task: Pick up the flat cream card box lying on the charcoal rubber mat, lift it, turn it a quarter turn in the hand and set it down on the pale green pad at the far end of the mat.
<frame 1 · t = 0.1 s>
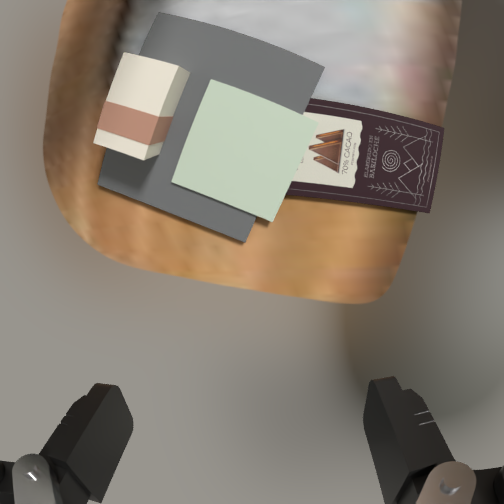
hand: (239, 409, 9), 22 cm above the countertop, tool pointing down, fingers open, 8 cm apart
chocolate bar: (354, 153, 27), on the countertop
card box: (149, 105, 25), point 1 cm above the countertop, touching mat
mat: (201, 122, 26), on the countertop
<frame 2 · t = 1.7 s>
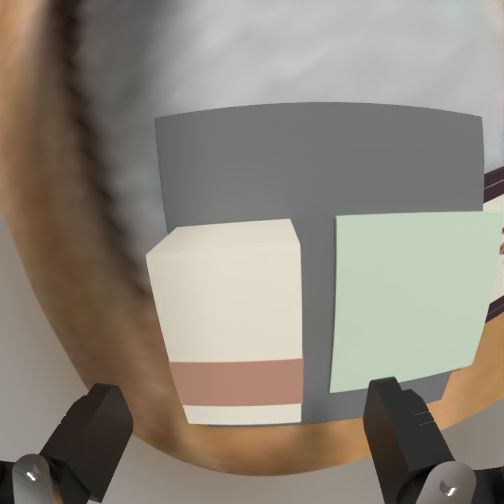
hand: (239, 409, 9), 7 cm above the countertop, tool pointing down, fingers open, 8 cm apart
card box: (240, 305, 15), point 1 cm above the countertop, touching mat
mat: (341, 292, 15), on the countertop
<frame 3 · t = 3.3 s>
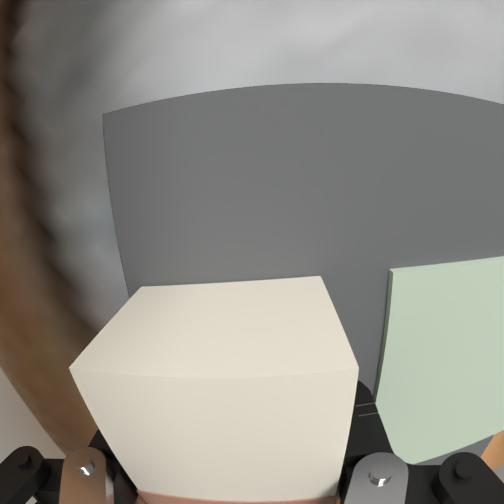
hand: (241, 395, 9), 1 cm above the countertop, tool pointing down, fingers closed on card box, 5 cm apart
card box: (242, 394, 9), point 1 cm above the countertop, touching gripper, mat
mat: (384, 368, 10), on the countertop
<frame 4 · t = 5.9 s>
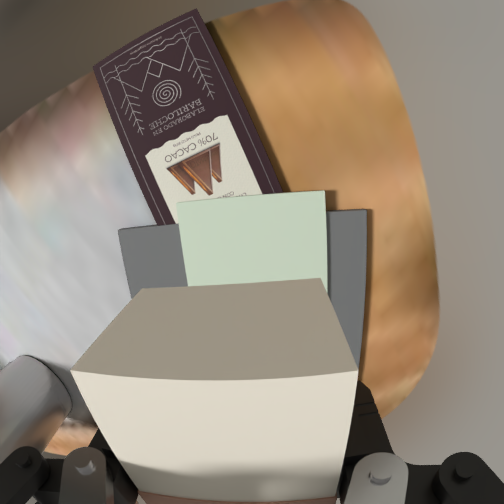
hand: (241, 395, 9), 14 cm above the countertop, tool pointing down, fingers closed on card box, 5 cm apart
chocolate bar: (188, 136, 21), on the countertop
card box: (242, 395, 9), point 14 cm above the countertop, touching gripper
mat: (248, 319, 24), on the countertop
when the fingers open (3 cm above the countertop, at t = 8.6 s): card box drops 2 cm, resting on mat.
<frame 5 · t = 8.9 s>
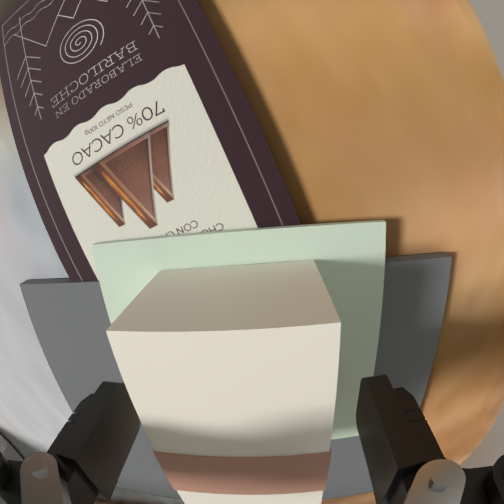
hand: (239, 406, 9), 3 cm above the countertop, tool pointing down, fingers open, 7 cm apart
chocolate bar: (118, 113, 10), on the countertop
card box: (246, 367, 11), point 1 cm above the countertop, touching mat
mat: (234, 425, 13), on the countertop
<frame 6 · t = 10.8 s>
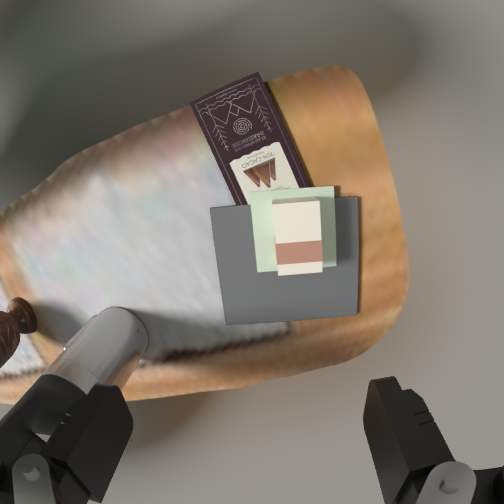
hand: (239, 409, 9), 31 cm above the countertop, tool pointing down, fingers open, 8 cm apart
mortar and pestle: (28, 312, 45), on the countertop
chocolate bar: (254, 152, 36), on the countertop
card box: (295, 230, 37), point 1 cm above the countertop, touching mat
mat: (288, 263, 39), on the countertop
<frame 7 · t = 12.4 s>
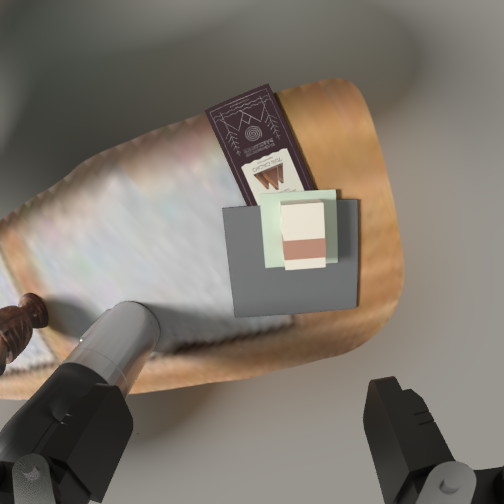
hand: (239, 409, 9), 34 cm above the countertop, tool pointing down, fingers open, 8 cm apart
mortar and pestle: (40, 307, 48), on the countertop
chocolate bar: (263, 157, 40), on the countertop
card box: (300, 229, 41), point 1 cm above the countertop, touching mat
mat: (294, 260, 43), on the countertop
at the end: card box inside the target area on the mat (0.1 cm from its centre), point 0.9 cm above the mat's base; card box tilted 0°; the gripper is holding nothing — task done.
